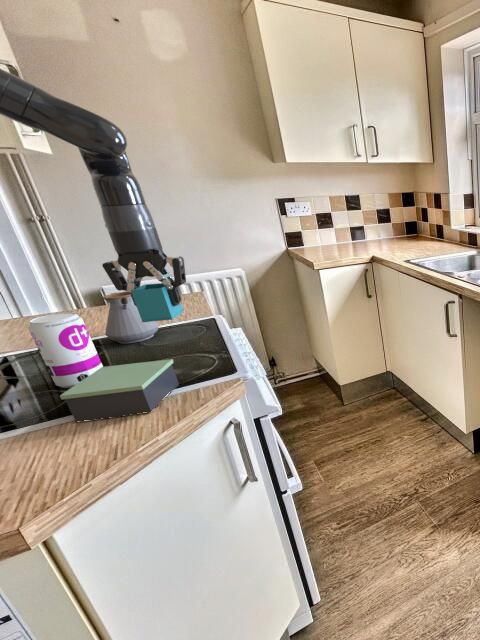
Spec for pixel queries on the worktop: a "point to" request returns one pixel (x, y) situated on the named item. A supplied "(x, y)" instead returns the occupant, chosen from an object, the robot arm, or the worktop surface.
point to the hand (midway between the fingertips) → (159, 306)
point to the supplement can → (65, 347)
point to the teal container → (155, 303)
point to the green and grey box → (121, 390)
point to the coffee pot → (126, 320)
